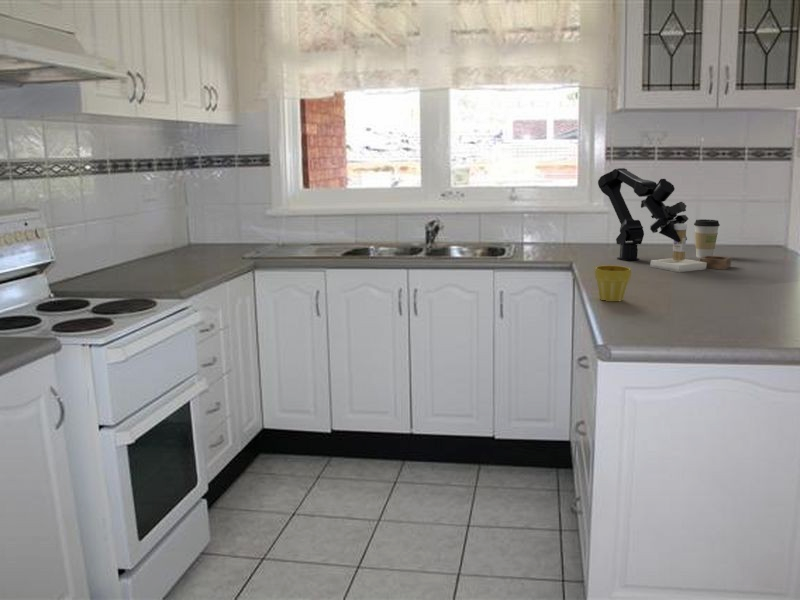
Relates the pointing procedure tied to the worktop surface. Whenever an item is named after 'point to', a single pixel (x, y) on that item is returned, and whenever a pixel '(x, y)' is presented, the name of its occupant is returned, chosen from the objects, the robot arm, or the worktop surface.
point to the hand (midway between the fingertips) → (682, 240)
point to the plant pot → (612, 281)
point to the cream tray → (678, 265)
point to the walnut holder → (716, 262)
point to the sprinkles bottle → (679, 246)
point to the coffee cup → (705, 237)
